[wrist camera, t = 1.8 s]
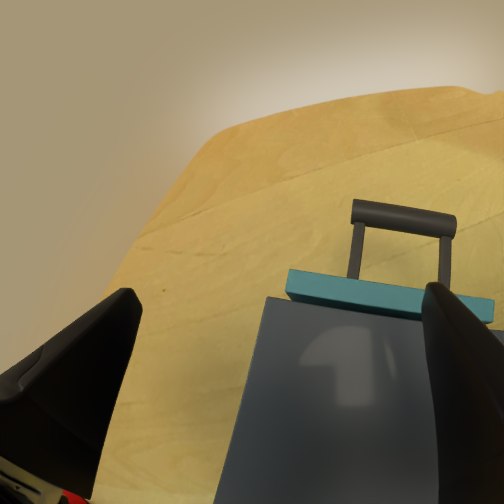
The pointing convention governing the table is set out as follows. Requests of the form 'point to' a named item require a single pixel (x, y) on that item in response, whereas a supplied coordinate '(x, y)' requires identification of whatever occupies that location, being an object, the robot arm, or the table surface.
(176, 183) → the table surface
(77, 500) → the soda can
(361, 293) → the drawer
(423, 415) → the small filing cabinet
